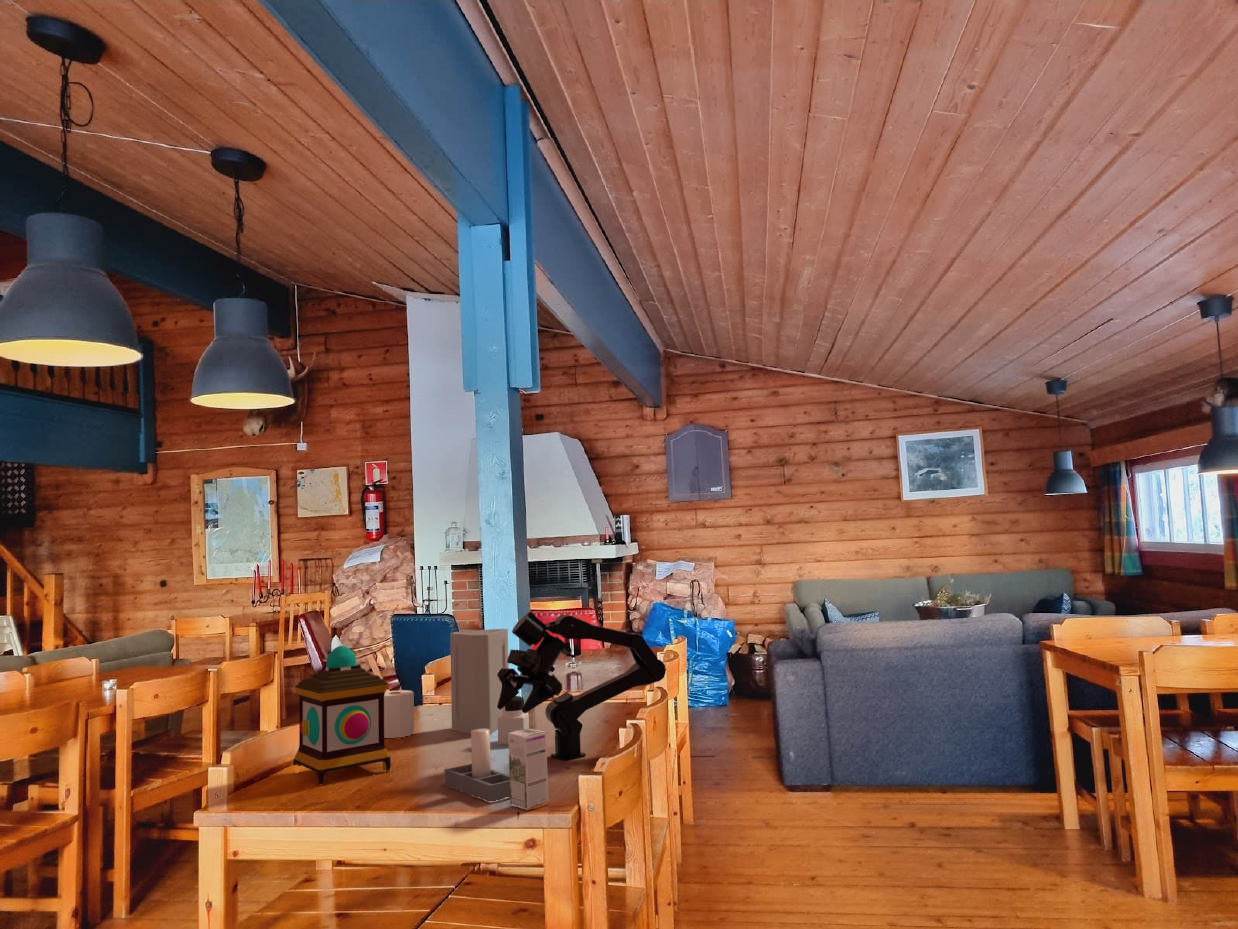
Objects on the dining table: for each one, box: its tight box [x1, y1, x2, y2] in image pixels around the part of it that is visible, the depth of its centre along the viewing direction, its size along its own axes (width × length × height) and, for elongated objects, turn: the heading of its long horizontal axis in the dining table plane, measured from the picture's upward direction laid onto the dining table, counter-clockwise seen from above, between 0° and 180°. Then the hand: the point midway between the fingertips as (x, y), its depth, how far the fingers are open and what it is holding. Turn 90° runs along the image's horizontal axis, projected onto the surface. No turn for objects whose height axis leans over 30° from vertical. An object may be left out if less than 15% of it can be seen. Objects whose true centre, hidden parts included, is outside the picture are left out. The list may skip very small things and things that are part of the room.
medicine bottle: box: [497, 695, 530, 746], centre depth 229 cm, size 7×7×12 cm
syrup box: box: [508, 728, 549, 808], centre depth 169 cm, size 6×6×14 cm
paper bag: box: [449, 628, 510, 736], centre depth 251 cm, size 19×15×28 cm
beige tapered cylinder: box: [470, 729, 492, 779], centre depth 182 cm, size 4×4×12 cm
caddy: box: [444, 763, 510, 801], centre depth 181 cm, size 20×7×4 cm, turn 40°
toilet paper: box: [384, 689, 415, 738], centre depth 244 cm, size 10×10×12 cm
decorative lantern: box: [292, 645, 392, 785], centre depth 204 cm, size 20×20×30 cm
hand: (510, 710), depth 200 cm, fingers open, 9 cm apart
